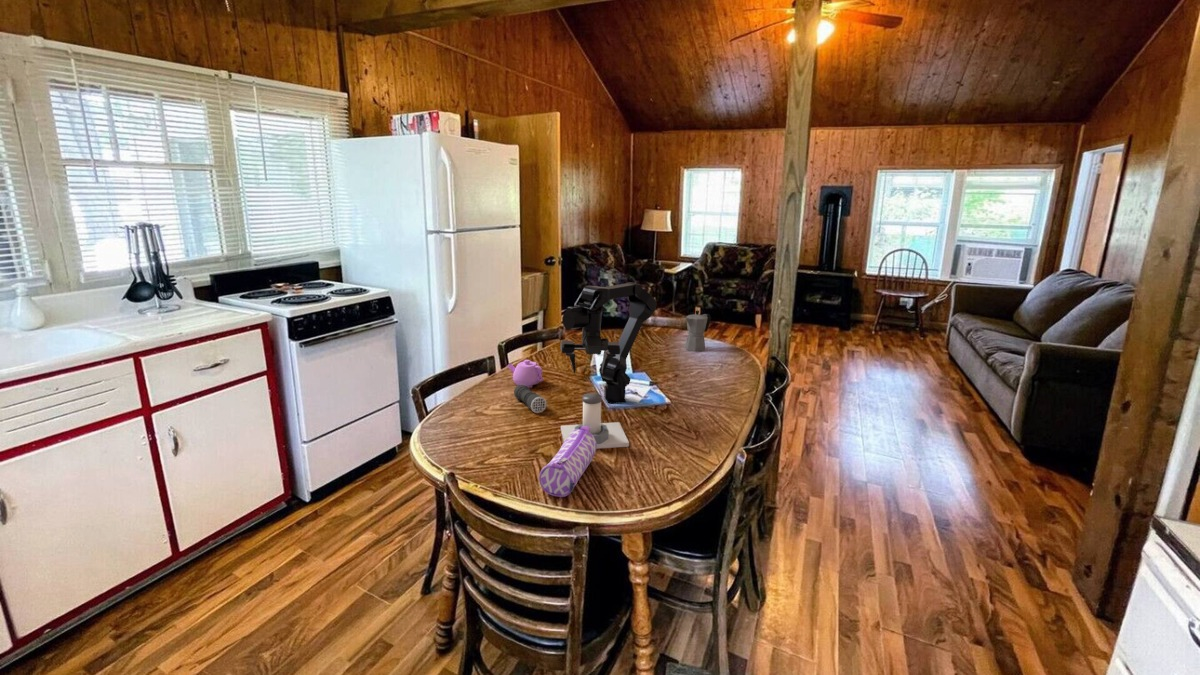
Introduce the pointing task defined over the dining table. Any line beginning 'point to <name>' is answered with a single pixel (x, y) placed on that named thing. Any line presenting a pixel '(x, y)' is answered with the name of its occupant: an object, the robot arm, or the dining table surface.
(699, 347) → the coffeepot
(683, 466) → the dining table surface
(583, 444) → the pencil case
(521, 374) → the teapot
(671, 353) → the dining table surface
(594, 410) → the canister
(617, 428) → the socket plate
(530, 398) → the flashlight
